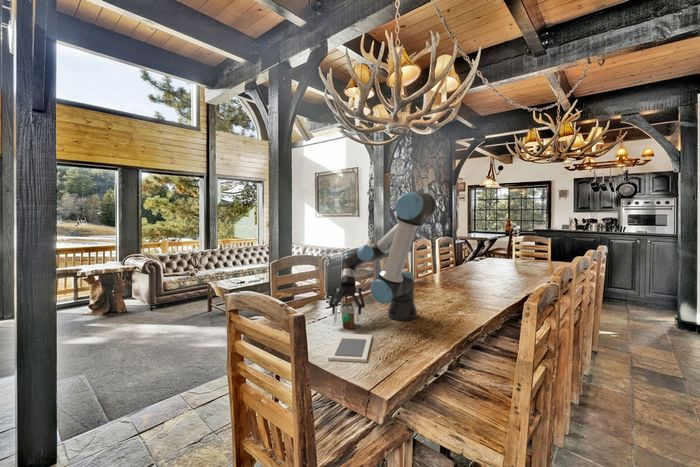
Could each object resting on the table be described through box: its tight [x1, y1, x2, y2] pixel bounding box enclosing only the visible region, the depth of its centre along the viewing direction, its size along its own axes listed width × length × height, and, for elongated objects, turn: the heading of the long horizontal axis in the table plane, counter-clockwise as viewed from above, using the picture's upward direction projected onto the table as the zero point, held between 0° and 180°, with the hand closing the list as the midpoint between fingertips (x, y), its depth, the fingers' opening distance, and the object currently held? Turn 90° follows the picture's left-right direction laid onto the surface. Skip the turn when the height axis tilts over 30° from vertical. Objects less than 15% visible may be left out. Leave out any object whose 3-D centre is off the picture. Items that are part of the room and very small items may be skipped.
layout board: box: [327, 333, 373, 363], centre depth 131 cm, size 14×24×1 cm, turn 171°
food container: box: [339, 301, 355, 331], centre depth 156 cm, size 12×6×10 cm, turn 5°
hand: (346, 320), depth 153 cm, fingers open, 10 cm apart
